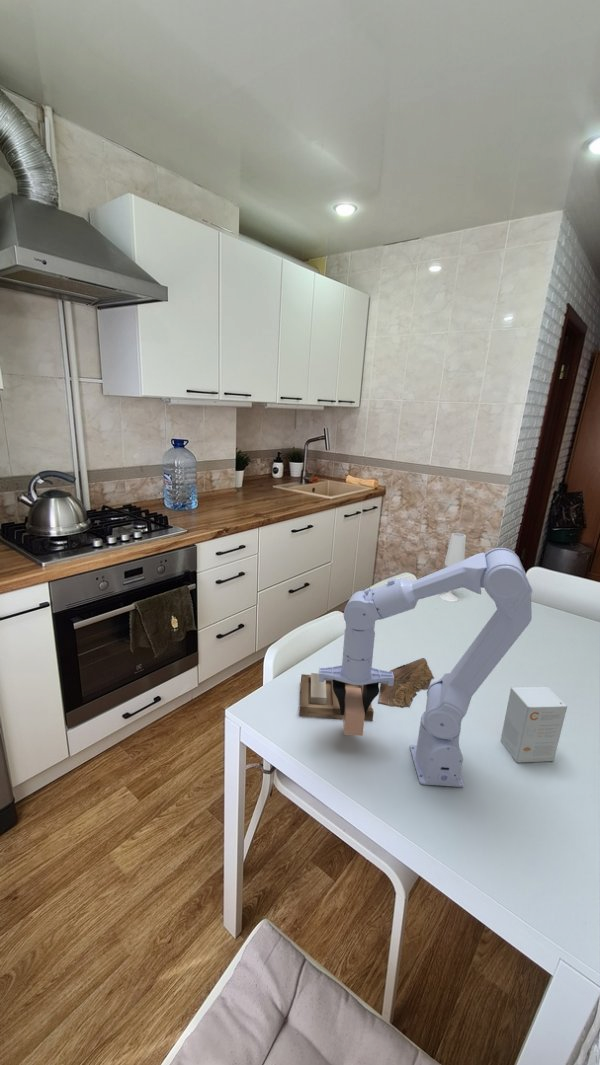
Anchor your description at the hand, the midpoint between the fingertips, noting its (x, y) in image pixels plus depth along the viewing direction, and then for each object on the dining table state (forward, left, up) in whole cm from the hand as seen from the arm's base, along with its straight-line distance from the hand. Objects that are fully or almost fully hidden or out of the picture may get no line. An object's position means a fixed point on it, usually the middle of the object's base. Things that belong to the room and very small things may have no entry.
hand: (352, 712), depth 90 cm
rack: (+12, +3, -7) cm, 14 cm away
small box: (0, -36, -7) cm, 37 cm away
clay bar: (0, 0, -2) cm, 2 cm away
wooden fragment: (+22, -16, -7) cm, 28 cm away
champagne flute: (+75, -42, -7) cm, 86 cm away
